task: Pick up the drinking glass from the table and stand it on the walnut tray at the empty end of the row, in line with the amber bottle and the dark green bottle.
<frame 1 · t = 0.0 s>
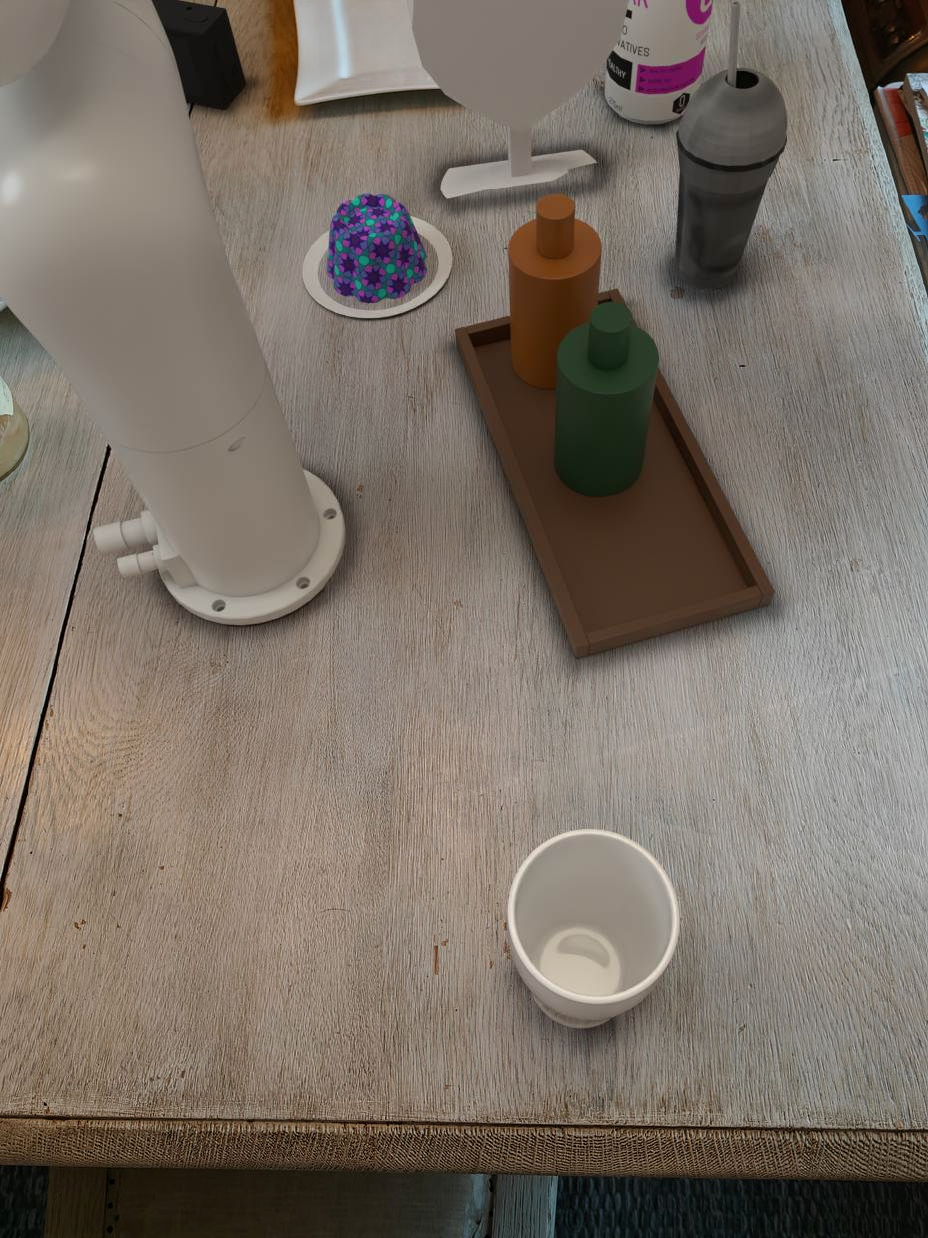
green bottle: (598, 461, 65), resting on tray
pudding: (378, 273, 77), on the table
amber bottle: (552, 358, 70), resting on tray
heart sculpture: (520, 179, 81), on the table
digital camera: (193, 86, 91), on the table
tray: (597, 466, 66), on the table
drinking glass: (578, 975, 50), on the table
beverage cup: (704, 275, 74), on the table
supplement can: (650, 102, 85), on the table
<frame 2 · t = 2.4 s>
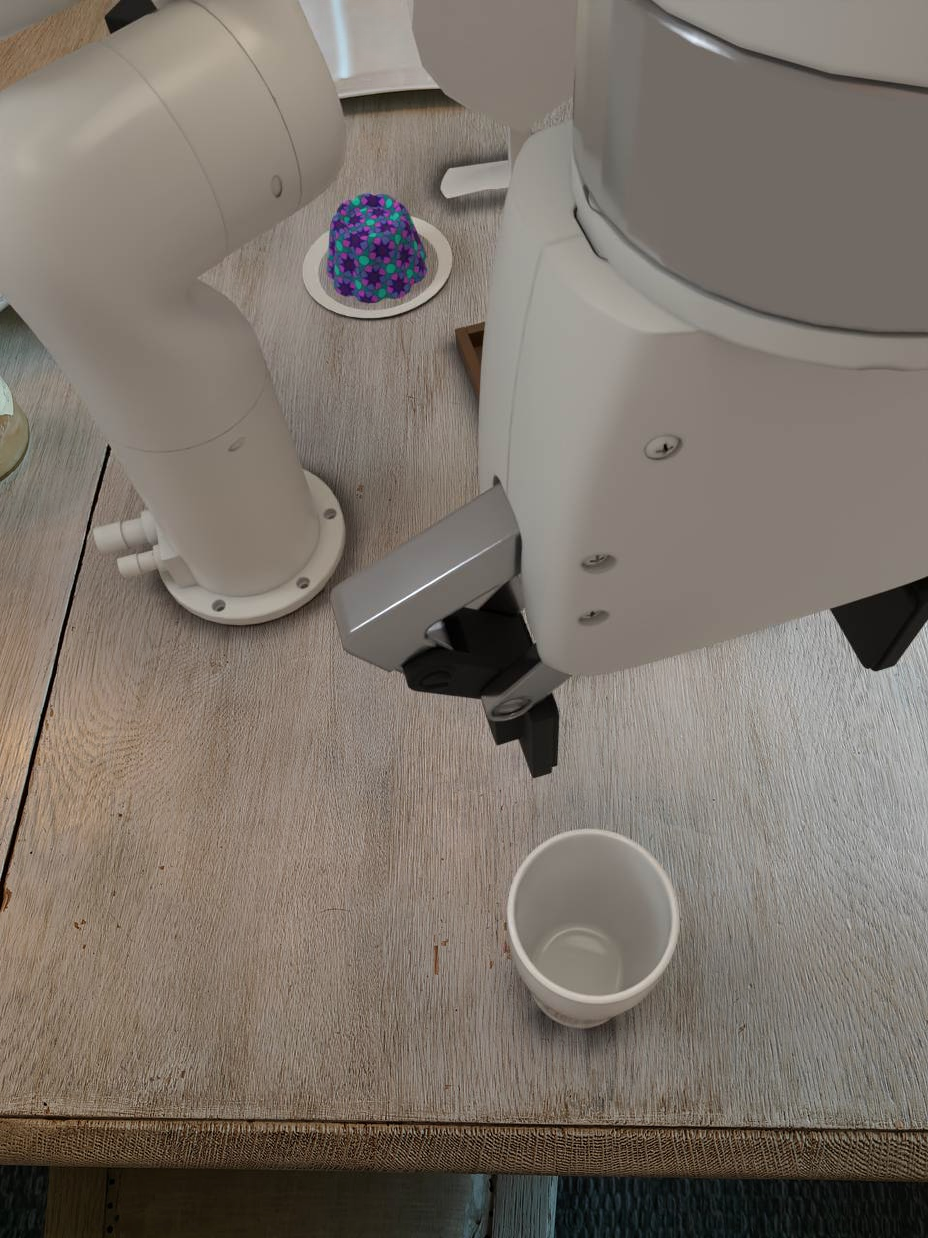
hand: (691, 675, 26), 28 cm above the table, tool pointing down, fingers open, 9 cm apart
nothing on the table moved.
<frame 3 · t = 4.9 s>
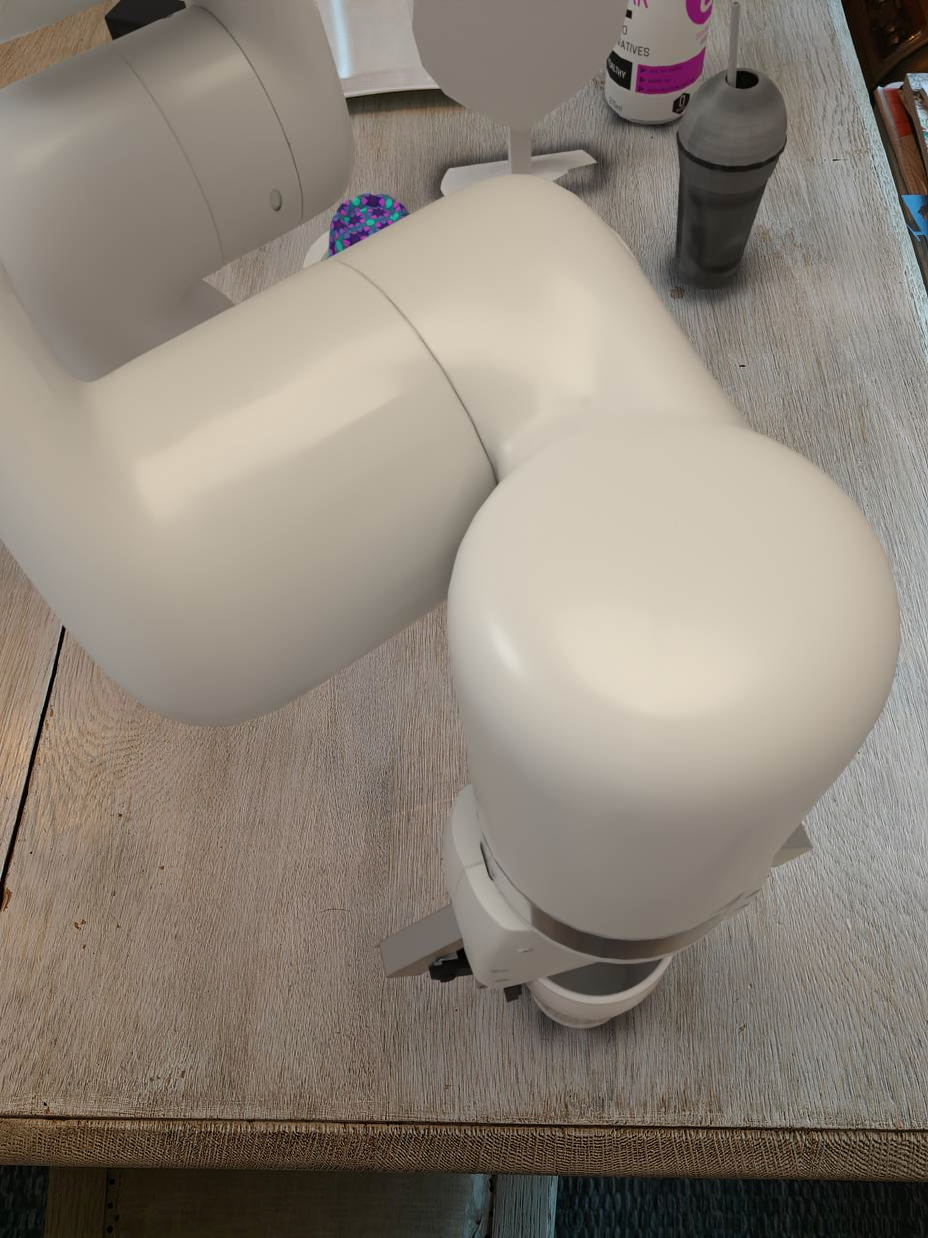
hand: (587, 937, 41), 10 cm above the table, tool pointing down, fingers closed on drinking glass, 6 cm apart
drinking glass: (578, 975, 50), on the table, touching gripper
everything else where it was.
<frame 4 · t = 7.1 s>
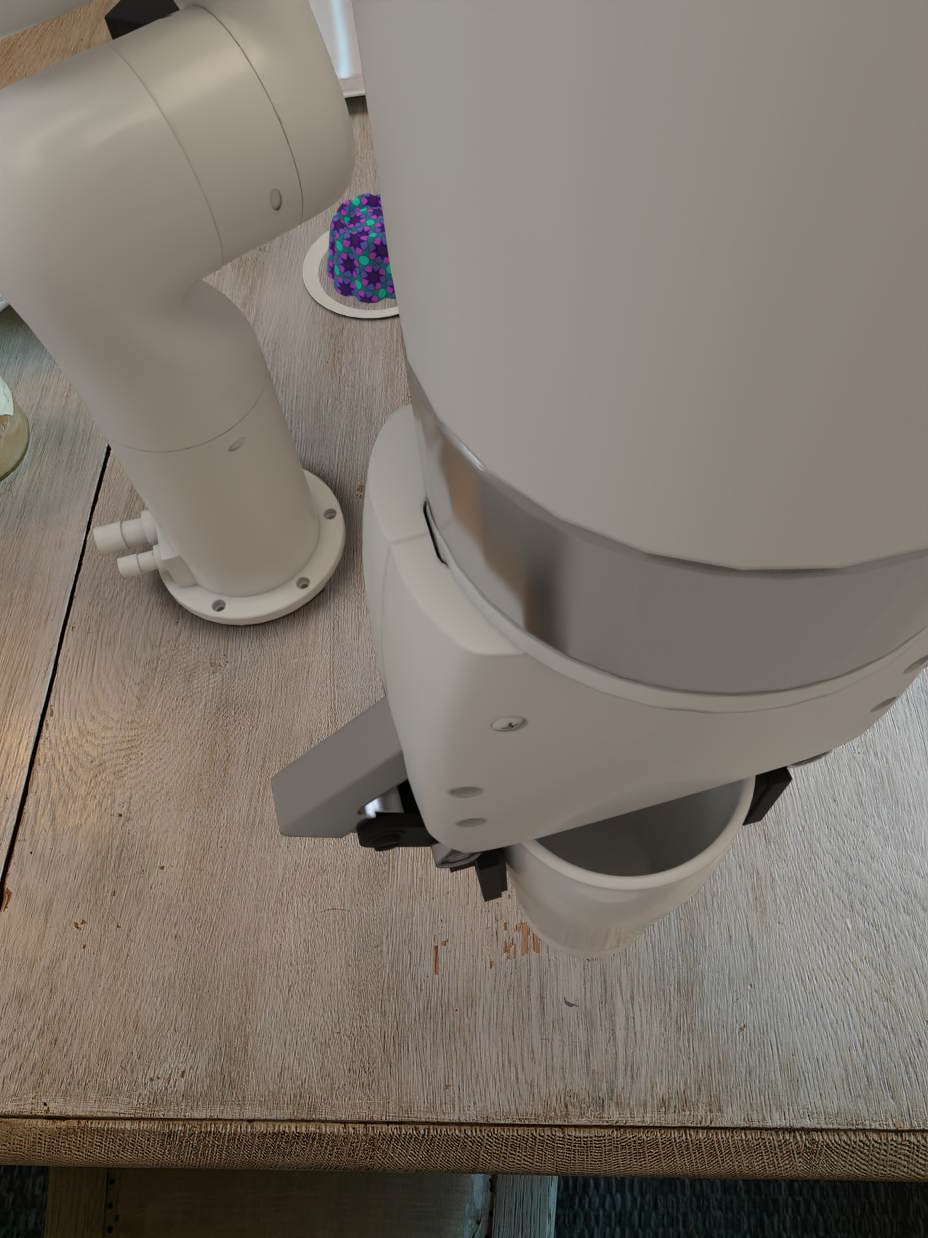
hand: (604, 809, 28), 26 cm above the table, tool pointing down, fingers closed on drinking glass, 6 cm apart
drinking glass: (584, 889, 37), point 15 cm above the table, touching gripper
everything else where it was.
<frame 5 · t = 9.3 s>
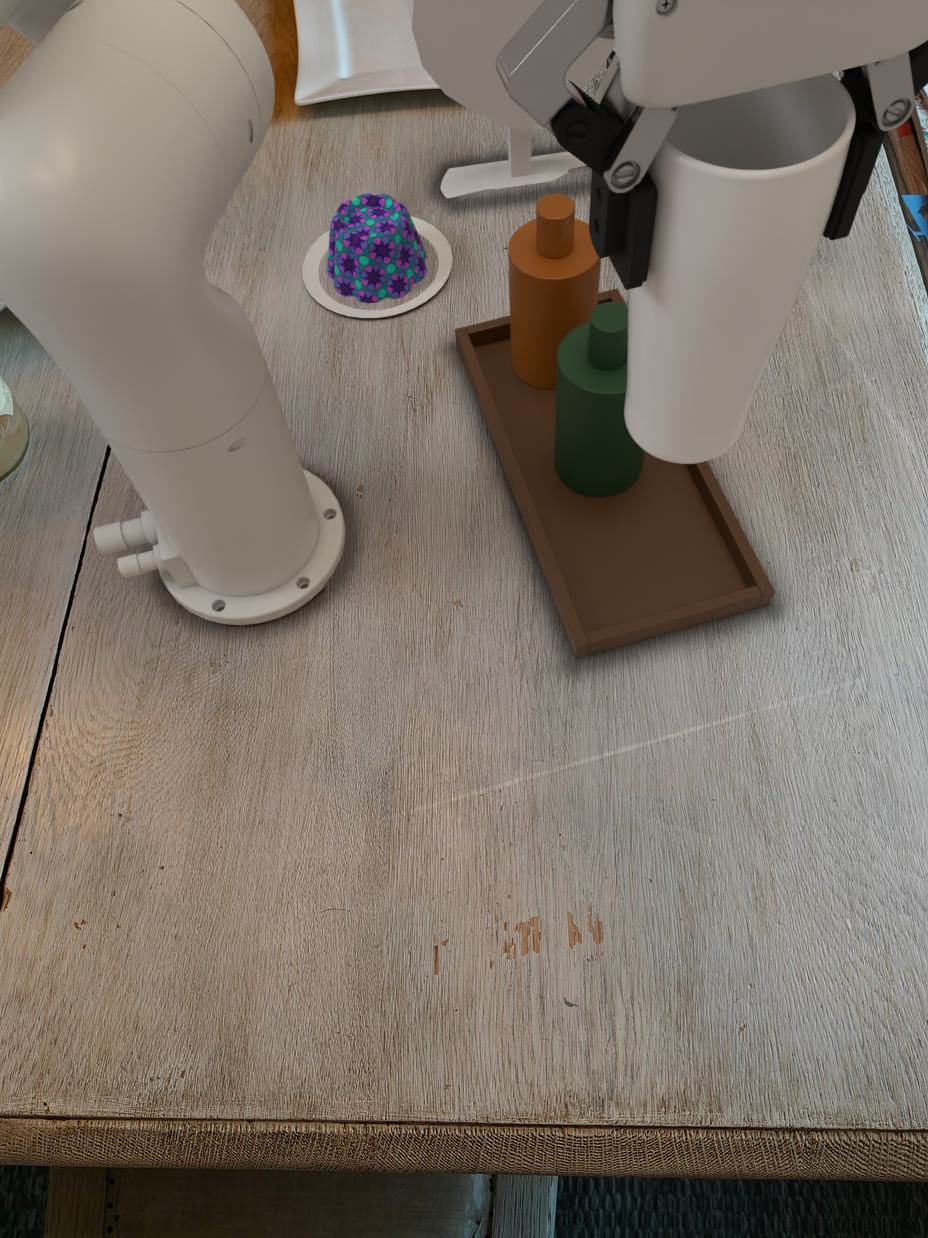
hand: (721, 235, 34), 29 cm above the table, tool pointing down, fingers closed on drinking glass, 6 cm apart
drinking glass: (681, 426, 43), point 19 cm above the table, touching gripper
everything else where it was.
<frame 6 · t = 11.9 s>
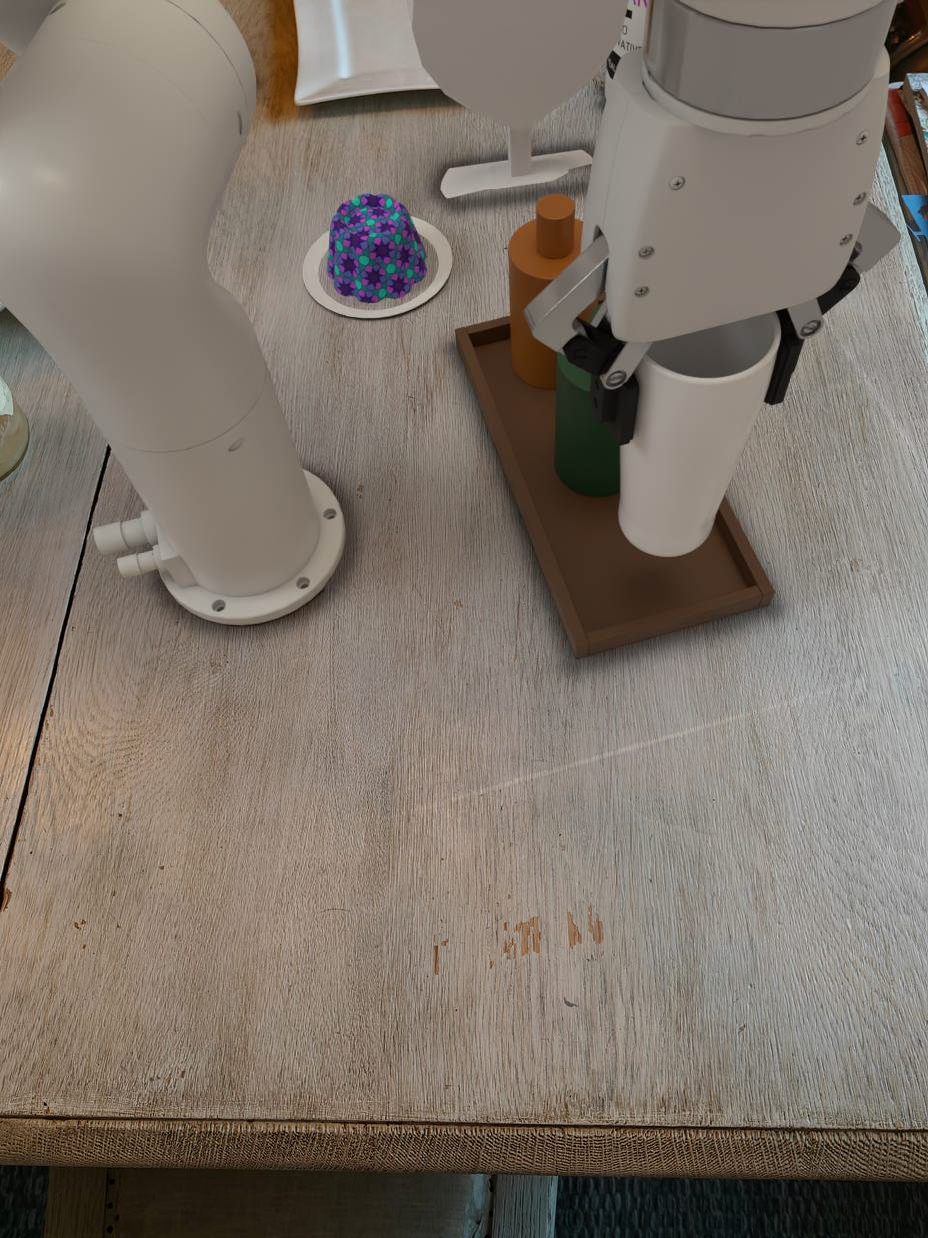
hand: (688, 401, 46), 17 cm above the table, tool pointing down, fingers closed on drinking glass, 6 cm apart
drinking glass: (663, 524, 55), point 7 cm above the table, touching gripper
everything else where it was.
when the fingers open (11 cm above the table, at t = 14.0 s): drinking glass stays where it is, resting on tray.
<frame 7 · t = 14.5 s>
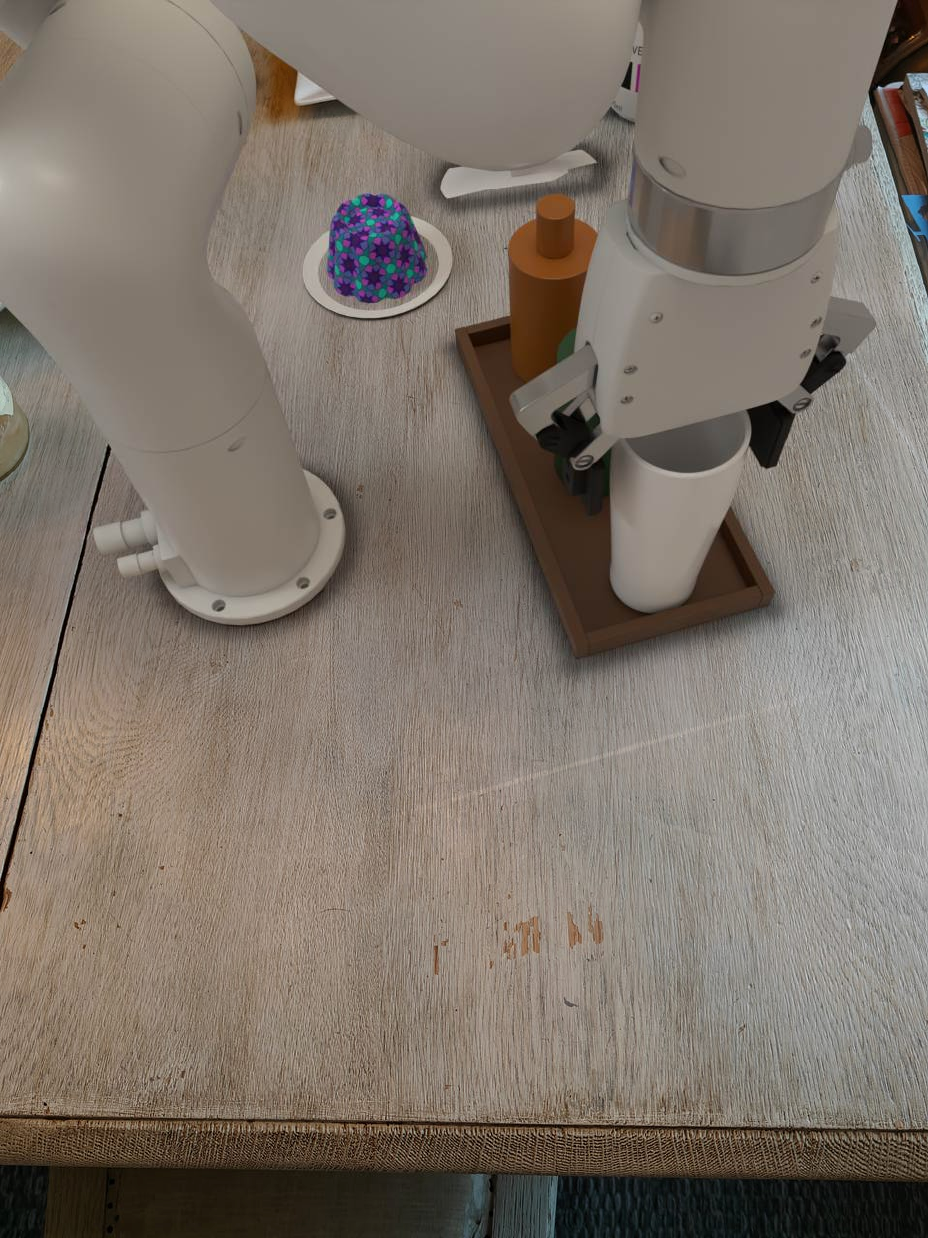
hand: (671, 470, 51), 12 cm above the table, tool pointing down, fingers open, 9 cm apart
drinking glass: (651, 582, 60), resting on tray
everything else where it was.
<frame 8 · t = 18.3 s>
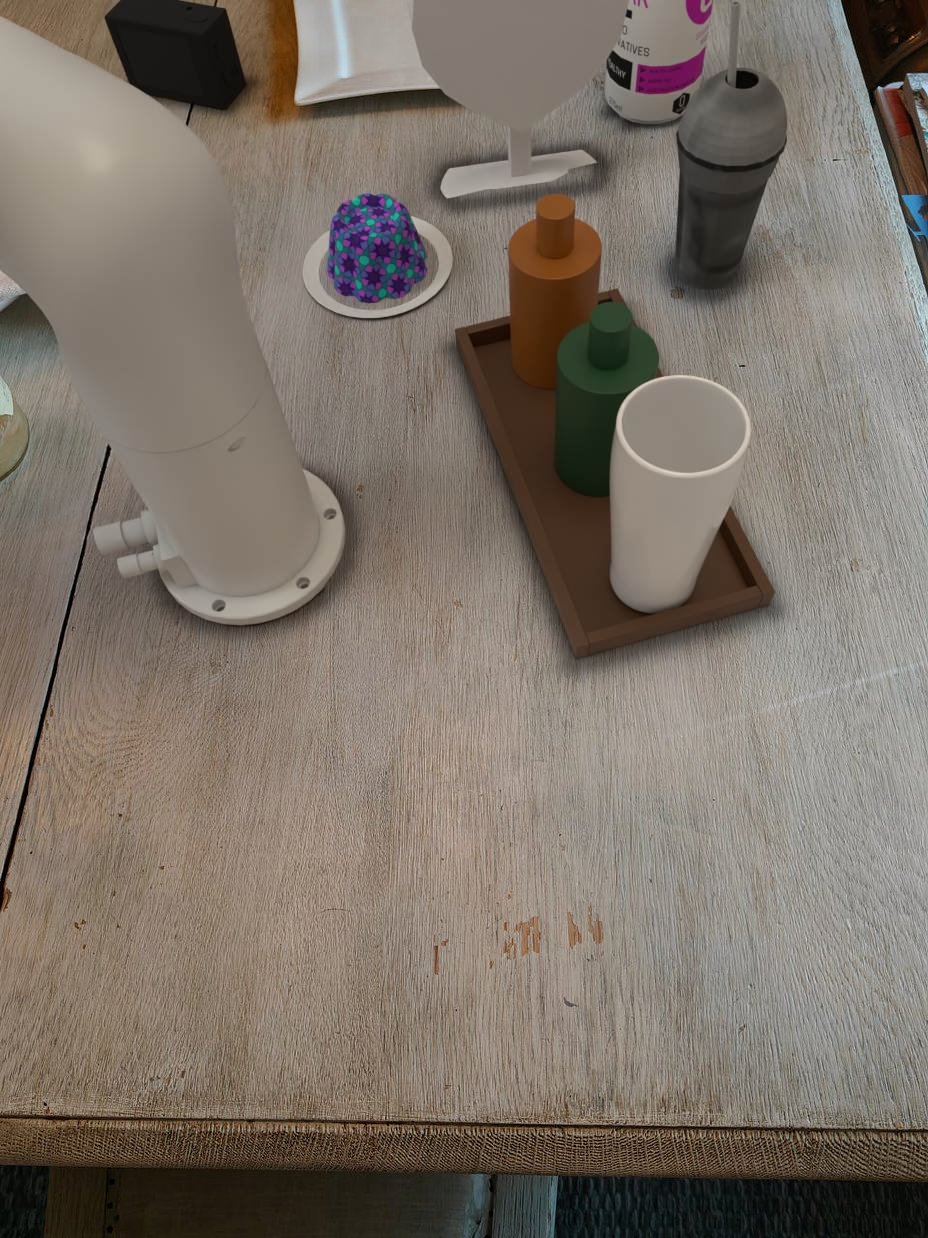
nothing on the table moved.
at the end: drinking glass 0.2 cm from the target spot in the tray, point 0.3 cm above the tray's base; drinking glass tilted 0°; green bottle moved 0.0 cm from its start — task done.
